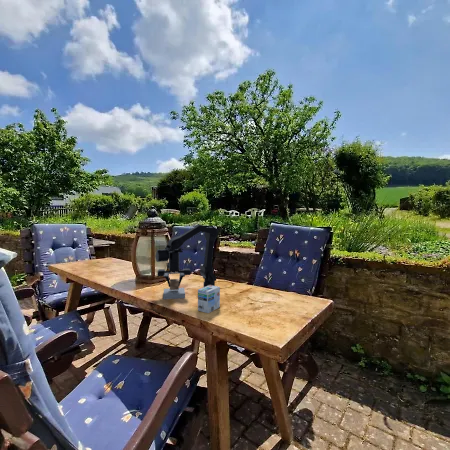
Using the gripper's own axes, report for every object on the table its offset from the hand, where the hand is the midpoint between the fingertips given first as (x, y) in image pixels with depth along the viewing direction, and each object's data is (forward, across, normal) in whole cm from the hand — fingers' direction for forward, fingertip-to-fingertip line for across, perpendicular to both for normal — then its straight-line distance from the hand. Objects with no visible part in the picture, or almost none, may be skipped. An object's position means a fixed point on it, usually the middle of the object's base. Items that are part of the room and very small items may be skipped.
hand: (174, 286), depth 152 cm
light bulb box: (+5, -17, +25) cm, 31 cm away
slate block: (+6, 0, 0) cm, 6 cm away
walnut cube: (+1, 0, 0) cm, 1 cm away
